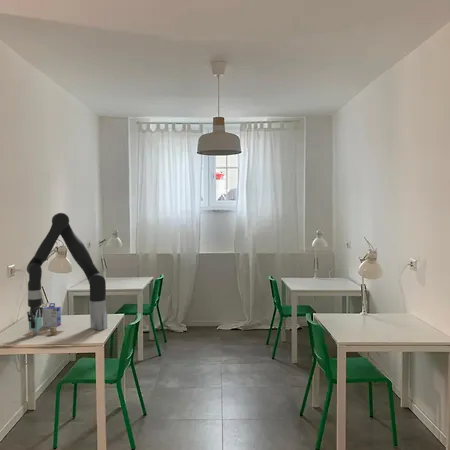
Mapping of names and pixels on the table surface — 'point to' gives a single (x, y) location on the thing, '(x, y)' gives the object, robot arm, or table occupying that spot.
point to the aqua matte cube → (36, 323)
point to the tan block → (53, 331)
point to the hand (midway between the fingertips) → (35, 326)
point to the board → (42, 333)
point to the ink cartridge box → (51, 316)
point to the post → (36, 332)
